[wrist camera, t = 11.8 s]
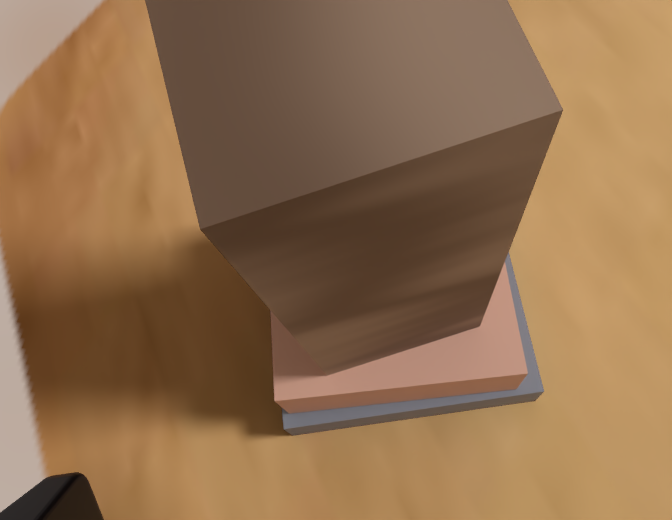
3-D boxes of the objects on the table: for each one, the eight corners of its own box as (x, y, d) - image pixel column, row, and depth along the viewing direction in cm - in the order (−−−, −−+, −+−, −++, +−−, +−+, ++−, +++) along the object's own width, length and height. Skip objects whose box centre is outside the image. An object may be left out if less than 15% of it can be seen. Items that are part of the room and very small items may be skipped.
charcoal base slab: (480, 195, 24) (486, 165, 22) (531, 404, 21) (544, 391, 19) (276, 229, 25) (263, 202, 23) (296, 438, 22) (283, 429, 20)
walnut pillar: (426, 189, 19) (432, -146, 9) (479, 326, 18) (563, 110, 7) (286, 235, 19) (134, -45, 9) (327, 376, 18) (199, 229, 7)
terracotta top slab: (476, 187, 22) (482, 154, 20) (516, 389, 19) (527, 373, 17) (278, 214, 22) (264, 183, 20) (289, 413, 20) (274, 401, 18)
